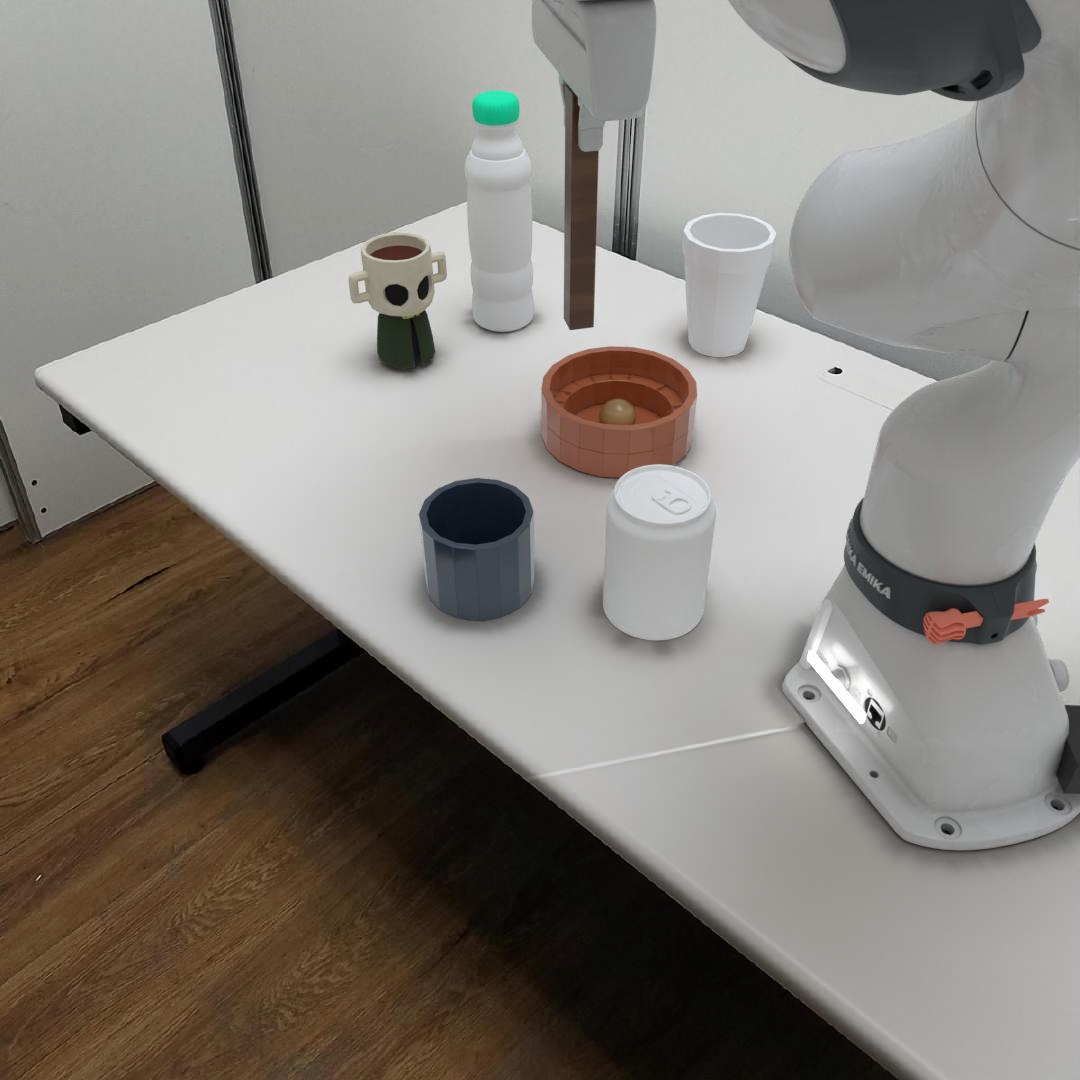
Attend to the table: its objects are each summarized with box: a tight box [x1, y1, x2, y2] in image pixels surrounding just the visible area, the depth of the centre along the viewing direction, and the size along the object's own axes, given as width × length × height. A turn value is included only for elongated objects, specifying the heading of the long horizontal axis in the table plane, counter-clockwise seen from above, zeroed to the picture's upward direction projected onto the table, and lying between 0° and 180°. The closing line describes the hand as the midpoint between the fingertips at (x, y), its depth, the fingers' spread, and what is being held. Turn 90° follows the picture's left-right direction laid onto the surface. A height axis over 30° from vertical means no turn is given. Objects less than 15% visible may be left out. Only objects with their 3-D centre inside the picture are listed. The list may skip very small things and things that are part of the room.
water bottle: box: [464, 90, 535, 333], centre depth 115 cm, size 7×7×25 cm
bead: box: [599, 399, 636, 425], centre depth 103 cm, size 4×4×4 cm
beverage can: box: [602, 464, 717, 641], centre depth 82 cm, size 8×8×12 cm
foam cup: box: [681, 212, 777, 358], centre depth 114 cm, size 10×9×13 cm
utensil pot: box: [418, 477, 536, 622], centre depth 86 cm, size 9×9×8 cm
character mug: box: [348, 231, 448, 370], centre depth 112 cm, size 11×7×13 cm, turn 120°
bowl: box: [540, 345, 698, 479], centre depth 103 cm, size 15×15×6 cm
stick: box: [563, 85, 600, 331], centre depth 87 cm, size 2×2×20 cm
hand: (582, 140), depth 83 cm, fingers closed on stick, 2 cm apart
